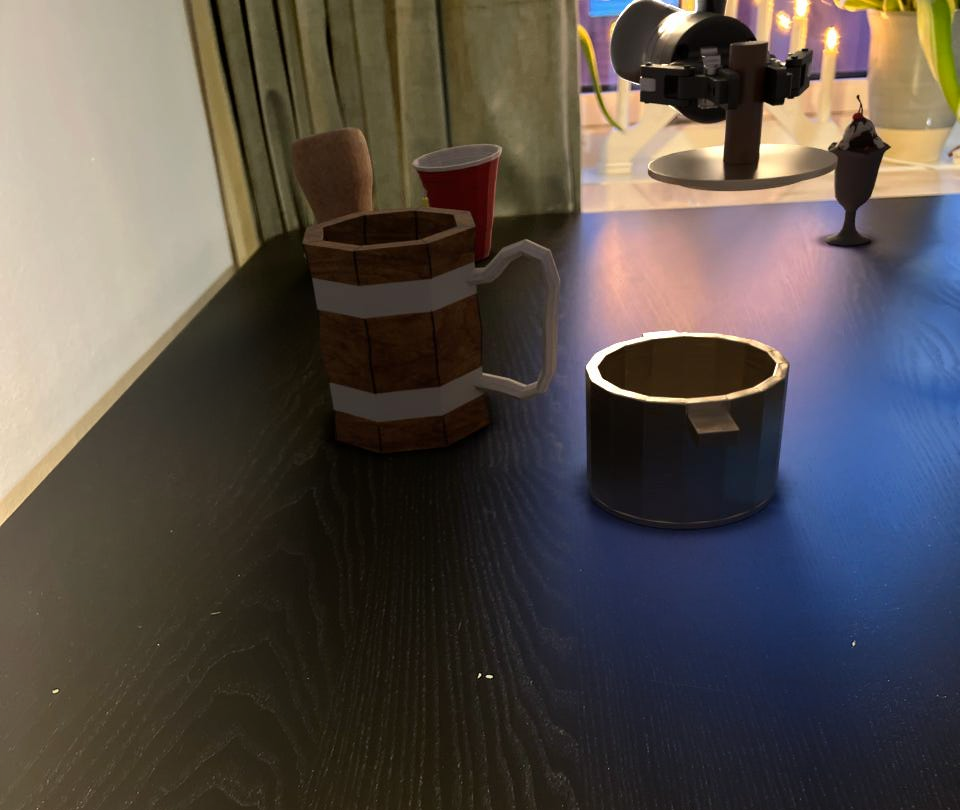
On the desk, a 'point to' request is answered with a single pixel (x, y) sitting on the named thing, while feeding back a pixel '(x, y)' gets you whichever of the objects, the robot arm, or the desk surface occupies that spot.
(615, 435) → the pot
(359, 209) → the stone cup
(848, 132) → the sundae
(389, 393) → the mug
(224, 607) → the desk surface
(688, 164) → the lid
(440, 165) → the plastic cup
